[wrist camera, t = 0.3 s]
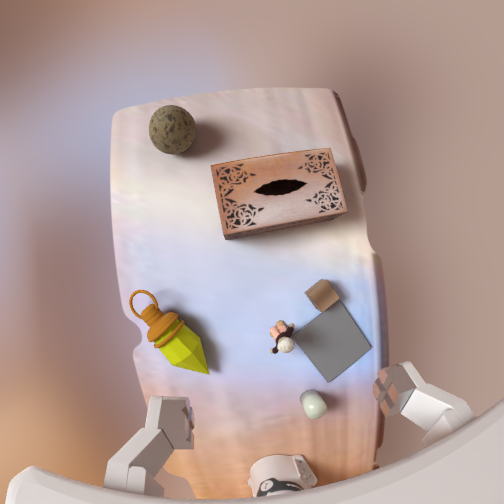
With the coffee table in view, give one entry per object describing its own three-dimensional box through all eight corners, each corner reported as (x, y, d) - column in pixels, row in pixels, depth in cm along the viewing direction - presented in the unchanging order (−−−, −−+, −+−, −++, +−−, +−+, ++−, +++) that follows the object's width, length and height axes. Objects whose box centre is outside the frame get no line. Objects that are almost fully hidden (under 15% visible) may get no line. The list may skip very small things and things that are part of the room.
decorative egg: (152, 159, 63) (132, 133, 48) (164, 122, 63) (148, 91, 48) (193, 164, 63) (182, 137, 48) (203, 126, 64) (196, 93, 49)
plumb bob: (226, 354, 62) (153, 275, 59) (221, 377, 53) (136, 287, 50) (200, 372, 63) (129, 297, 60) (192, 394, 54) (111, 311, 51)
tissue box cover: (225, 239, 63) (223, 234, 53) (214, 180, 63) (210, 165, 54) (332, 219, 64) (347, 211, 54) (318, 163, 65) (330, 147, 55)
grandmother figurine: (277, 313, 62) (286, 325, 50) (291, 320, 62) (304, 332, 50) (262, 342, 62) (268, 360, 49) (277, 349, 62) (286, 367, 49)
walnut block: (332, 295, 63) (339, 298, 58) (316, 308, 63) (322, 312, 58) (320, 279, 63) (327, 280, 58) (304, 292, 63) (309, 294, 58)
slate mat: (369, 346, 63) (371, 347, 62) (326, 381, 62) (328, 382, 61) (337, 299, 63) (339, 299, 62) (291, 336, 62) (292, 337, 61)
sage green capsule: (322, 398, 62) (330, 410, 55) (306, 409, 61) (313, 422, 55) (312, 385, 62) (320, 397, 55) (296, 397, 62) (302, 410, 55)
